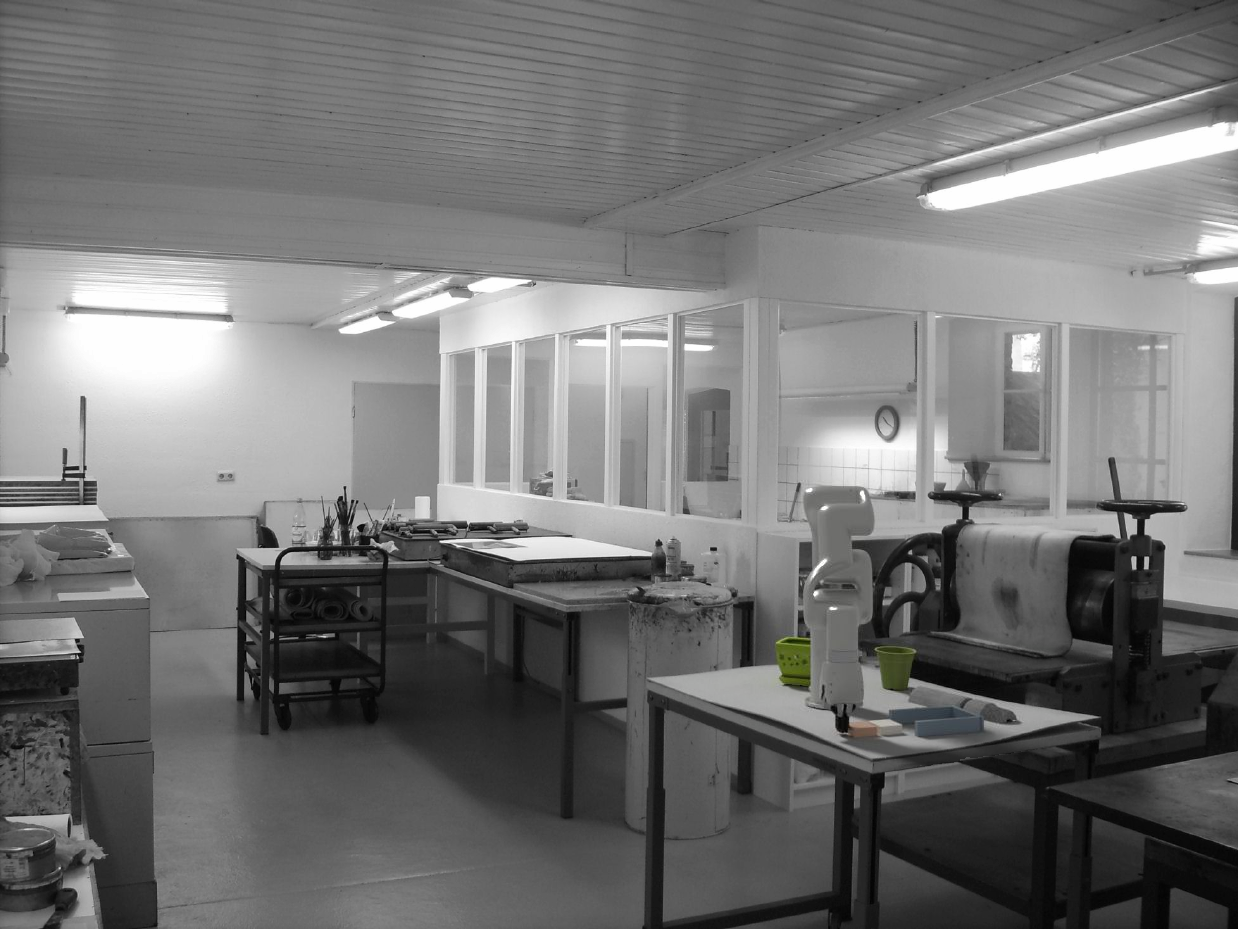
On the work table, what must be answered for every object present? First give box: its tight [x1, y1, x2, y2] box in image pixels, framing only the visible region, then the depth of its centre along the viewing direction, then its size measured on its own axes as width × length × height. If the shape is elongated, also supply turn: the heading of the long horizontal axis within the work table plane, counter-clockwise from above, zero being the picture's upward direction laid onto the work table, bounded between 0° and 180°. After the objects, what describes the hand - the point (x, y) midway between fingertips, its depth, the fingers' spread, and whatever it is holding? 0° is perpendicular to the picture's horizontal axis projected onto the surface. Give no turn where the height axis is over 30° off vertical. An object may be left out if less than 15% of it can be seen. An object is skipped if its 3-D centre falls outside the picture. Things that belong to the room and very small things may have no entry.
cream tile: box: [867, 718, 903, 736], centre depth 263 cm, size 6×6×2 cm
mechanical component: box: [907, 685, 1018, 725], centre depth 285 cm, size 9×4×30 cm
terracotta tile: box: [847, 720, 878, 738], centre depth 261 cm, size 6×6×2 cm
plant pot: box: [874, 645, 917, 691], centre depth 313 cm, size 12×12×11 cm
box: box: [888, 705, 985, 737], centre depth 267 cm, size 13×19×4 cm
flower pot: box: [774, 636, 811, 687], centre depth 320 cm, size 14×14×13 cm
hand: (842, 731), depth 260 cm, fingers closed
